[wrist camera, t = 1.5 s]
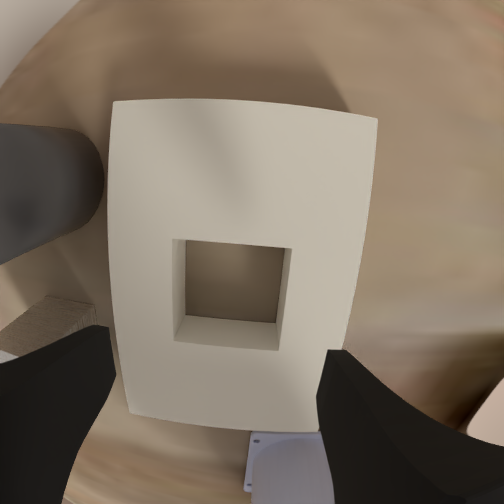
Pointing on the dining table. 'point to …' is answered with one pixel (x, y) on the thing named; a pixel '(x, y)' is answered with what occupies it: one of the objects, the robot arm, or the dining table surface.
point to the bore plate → (237, 232)
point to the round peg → (45, 185)
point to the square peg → (44, 326)
